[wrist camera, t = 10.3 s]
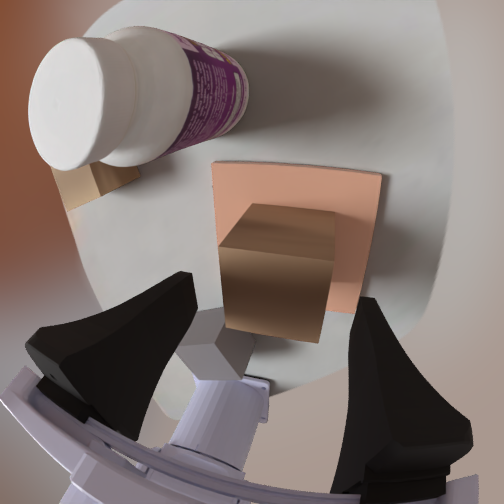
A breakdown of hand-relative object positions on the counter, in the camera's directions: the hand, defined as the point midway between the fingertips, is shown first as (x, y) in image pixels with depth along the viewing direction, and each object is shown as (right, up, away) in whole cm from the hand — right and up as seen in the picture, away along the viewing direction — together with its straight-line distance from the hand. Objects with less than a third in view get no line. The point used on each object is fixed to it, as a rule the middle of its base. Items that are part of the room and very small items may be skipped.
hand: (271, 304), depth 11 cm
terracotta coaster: (+2, +3, +5) cm, 6 cm away
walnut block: (+1, +3, +4) cm, 5 cm away
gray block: (-3, -4, +10) cm, 11 cm away
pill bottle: (-3, +11, +2) cm, 12 cm away
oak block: (-11, +9, +5) cm, 15 cm away
